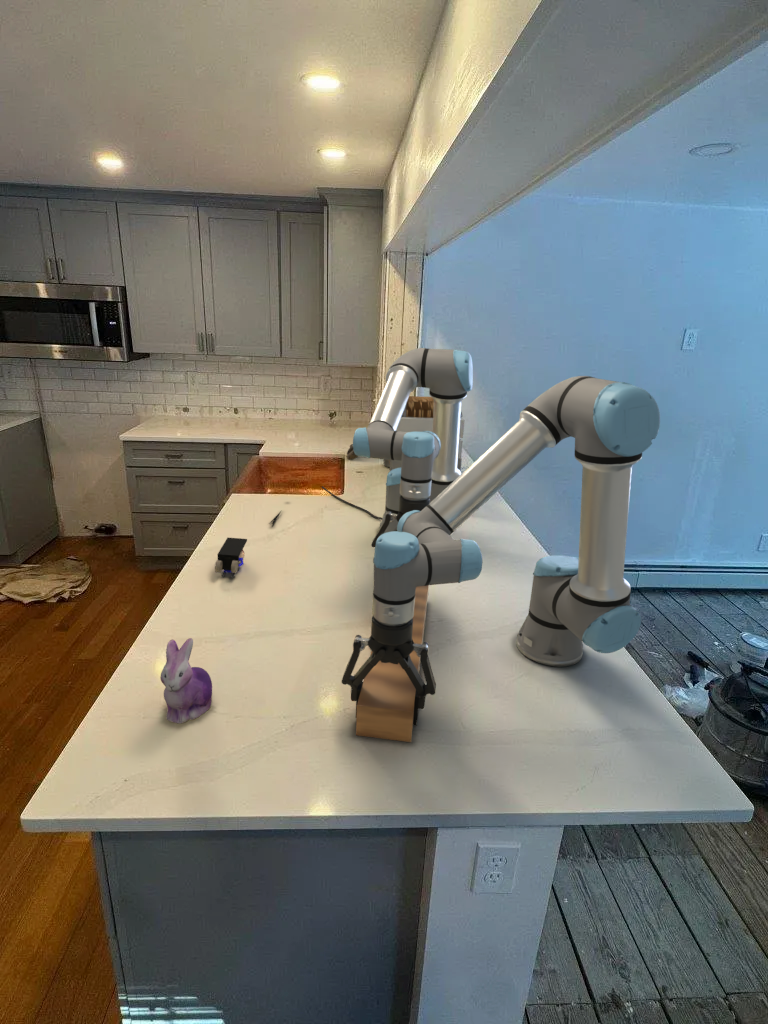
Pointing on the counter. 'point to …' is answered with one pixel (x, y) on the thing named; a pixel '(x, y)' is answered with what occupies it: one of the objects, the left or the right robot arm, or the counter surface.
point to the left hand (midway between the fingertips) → (409, 574)
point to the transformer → (421, 424)
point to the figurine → (184, 684)
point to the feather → (274, 519)
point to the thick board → (392, 689)
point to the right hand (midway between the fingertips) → (386, 717)
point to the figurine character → (230, 556)
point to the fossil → (351, 453)
